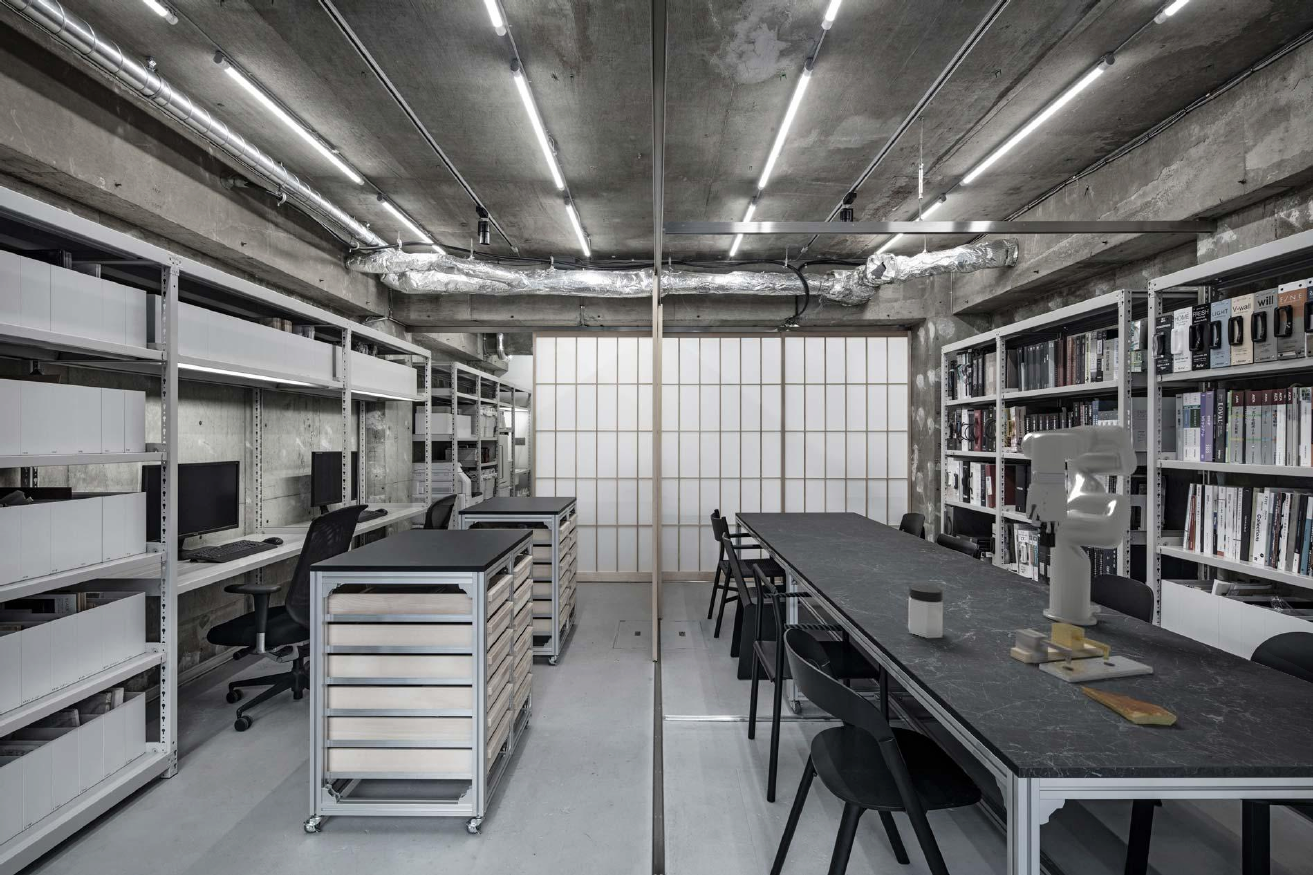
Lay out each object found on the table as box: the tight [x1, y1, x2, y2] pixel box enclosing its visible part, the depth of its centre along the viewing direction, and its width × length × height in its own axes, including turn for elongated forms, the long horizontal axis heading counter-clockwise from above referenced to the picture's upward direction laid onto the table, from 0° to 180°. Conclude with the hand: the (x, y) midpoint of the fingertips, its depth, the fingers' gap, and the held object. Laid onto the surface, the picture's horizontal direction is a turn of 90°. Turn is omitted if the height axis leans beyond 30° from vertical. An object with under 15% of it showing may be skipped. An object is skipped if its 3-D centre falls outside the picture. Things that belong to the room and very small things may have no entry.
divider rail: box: [1010, 628, 1103, 664], centre depth 130 cm, size 24×12×6 cm, turn 104°
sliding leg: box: [1050, 622, 1111, 660], centre depth 131 cm, size 4×12×5 cm, turn 14°
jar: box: [907, 584, 944, 639], centre depth 148 cm, size 9×8×12 cm
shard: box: [1079, 684, 1177, 726], centre depth 107 cm, size 13×9×2 cm
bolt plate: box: [1038, 655, 1154, 683], centre depth 125 cm, size 24×7×1 cm, turn 104°
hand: (1047, 546), depth 150 cm, fingers closed
